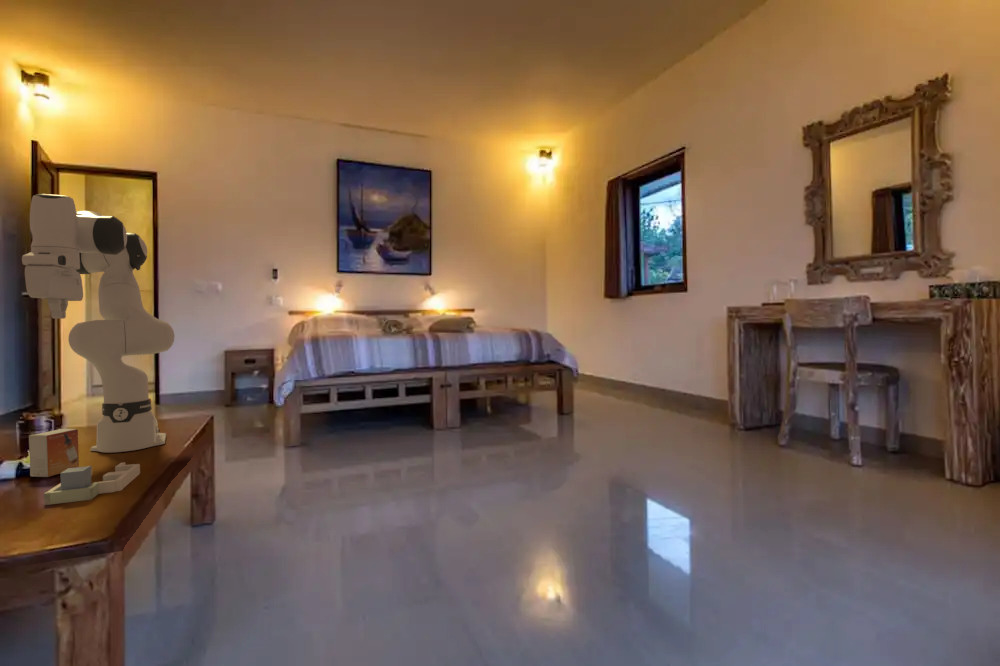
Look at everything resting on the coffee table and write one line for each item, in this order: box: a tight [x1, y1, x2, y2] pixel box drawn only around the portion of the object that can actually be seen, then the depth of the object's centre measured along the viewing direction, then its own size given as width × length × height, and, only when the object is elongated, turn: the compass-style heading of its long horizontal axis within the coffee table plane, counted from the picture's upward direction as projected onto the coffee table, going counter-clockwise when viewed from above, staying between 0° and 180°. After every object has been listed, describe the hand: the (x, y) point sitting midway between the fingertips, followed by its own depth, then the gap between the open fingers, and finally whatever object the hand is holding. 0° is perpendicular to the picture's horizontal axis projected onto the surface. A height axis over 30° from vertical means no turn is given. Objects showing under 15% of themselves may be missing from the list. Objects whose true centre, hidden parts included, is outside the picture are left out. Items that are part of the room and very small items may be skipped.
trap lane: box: [43, 461, 141, 506], centre depth 119 cm, size 22×12×2 cm, turn 20°
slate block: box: [59, 465, 92, 491], centre depth 111 cm, size 4×4×6 cm
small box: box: [28, 428, 80, 478], centre depth 130 cm, size 8×6×10 cm
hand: (58, 318), depth 124 cm, fingers closed
